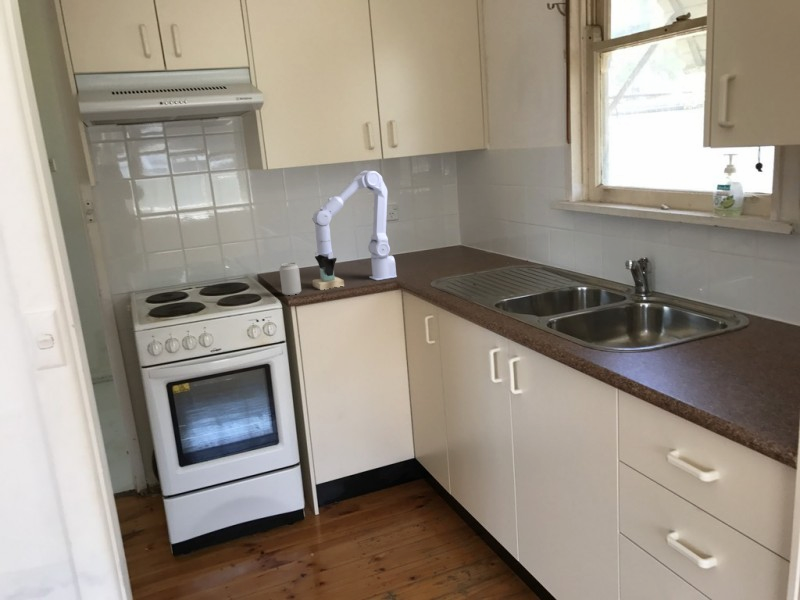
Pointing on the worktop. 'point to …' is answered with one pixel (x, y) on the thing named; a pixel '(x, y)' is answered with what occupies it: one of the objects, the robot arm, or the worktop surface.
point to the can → (290, 279)
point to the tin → (324, 275)
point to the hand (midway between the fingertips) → (327, 274)
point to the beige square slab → (327, 283)
